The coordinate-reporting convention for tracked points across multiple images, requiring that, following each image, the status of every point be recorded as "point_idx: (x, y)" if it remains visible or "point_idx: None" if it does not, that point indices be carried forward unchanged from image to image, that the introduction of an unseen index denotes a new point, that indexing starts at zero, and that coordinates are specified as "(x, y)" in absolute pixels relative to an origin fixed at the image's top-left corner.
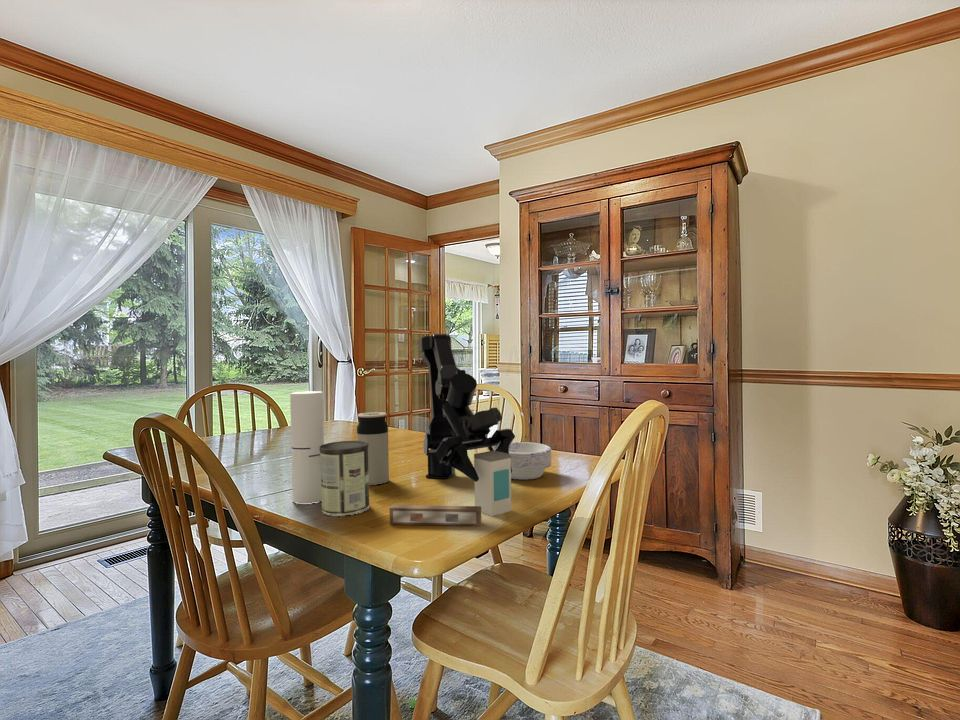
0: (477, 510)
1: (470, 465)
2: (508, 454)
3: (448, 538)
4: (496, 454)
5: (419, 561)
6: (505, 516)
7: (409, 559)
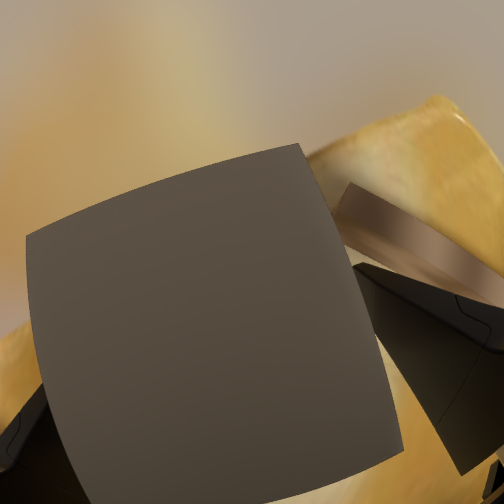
0: (358, 187)
1: (437, 295)
2: (43, 231)
3: (422, 170)
4: (139, 297)
5: (457, 115)
6: None
7: (471, 129)
